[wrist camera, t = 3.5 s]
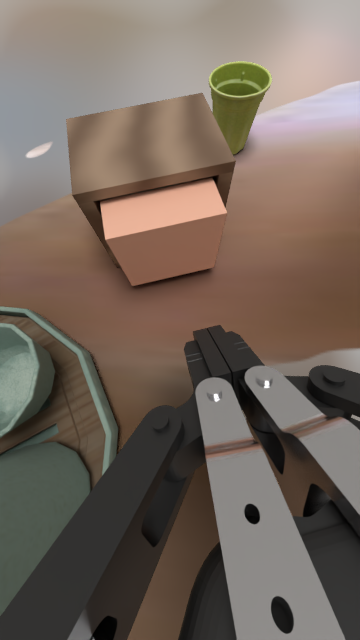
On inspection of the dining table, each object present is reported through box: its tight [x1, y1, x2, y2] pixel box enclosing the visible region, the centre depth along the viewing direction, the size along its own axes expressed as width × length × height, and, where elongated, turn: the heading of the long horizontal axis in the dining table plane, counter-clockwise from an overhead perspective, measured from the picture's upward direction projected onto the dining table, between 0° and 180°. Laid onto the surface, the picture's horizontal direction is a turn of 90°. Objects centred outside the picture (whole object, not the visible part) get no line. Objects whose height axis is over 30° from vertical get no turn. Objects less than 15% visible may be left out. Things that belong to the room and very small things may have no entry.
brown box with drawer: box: [66, 93, 236, 268], centre depth 25 cm, size 16×12×12 cm
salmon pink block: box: [100, 178, 227, 286], centre depth 24 cm, size 12×10×9 cm
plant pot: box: [209, 61, 272, 154], centre depth 33 cm, size 9×9×9 cm
